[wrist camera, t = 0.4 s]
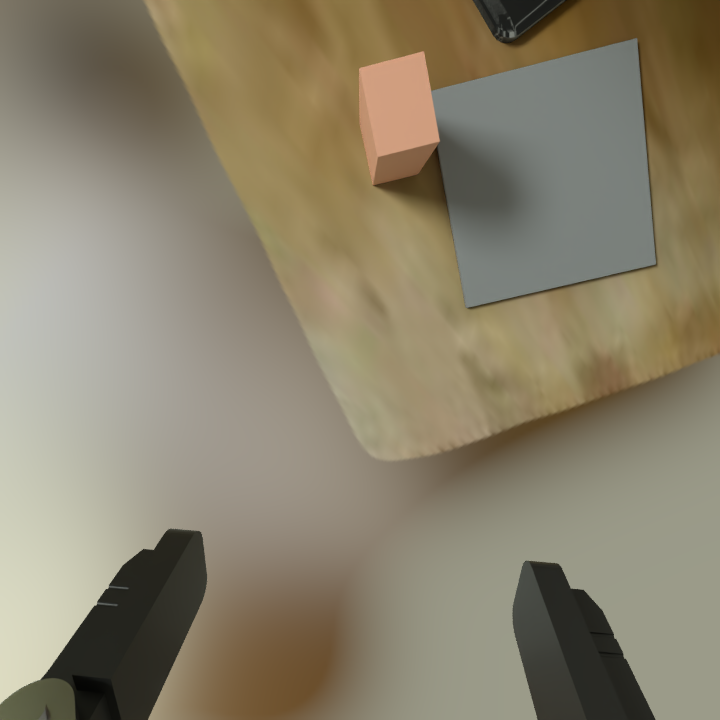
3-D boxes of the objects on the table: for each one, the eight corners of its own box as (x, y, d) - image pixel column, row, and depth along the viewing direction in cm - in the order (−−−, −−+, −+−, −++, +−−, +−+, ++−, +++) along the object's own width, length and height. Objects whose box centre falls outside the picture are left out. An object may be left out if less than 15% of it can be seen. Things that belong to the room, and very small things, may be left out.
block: (359, 122, 33) (359, 68, 23) (405, 111, 33) (423, 51, 23) (372, 185, 34) (377, 157, 24) (417, 174, 33) (439, 141, 24)
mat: (427, 93, 32) (427, 91, 32) (633, 41, 31) (637, 38, 31) (465, 307, 36) (466, 307, 35) (652, 264, 35) (655, 264, 34)
